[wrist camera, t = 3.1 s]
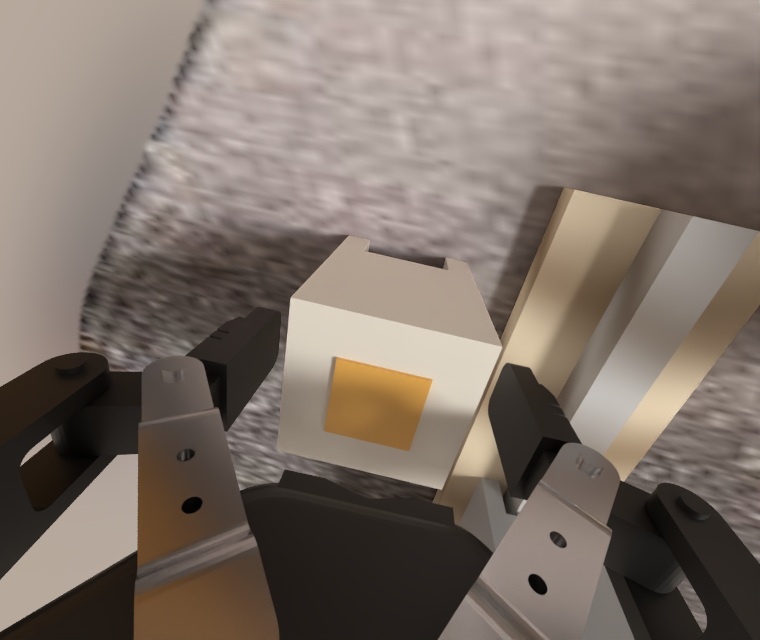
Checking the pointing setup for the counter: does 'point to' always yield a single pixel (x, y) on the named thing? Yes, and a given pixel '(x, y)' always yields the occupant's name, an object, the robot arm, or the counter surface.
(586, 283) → the rail board
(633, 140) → the counter surface
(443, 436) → the block
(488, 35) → the counter surface
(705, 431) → the counter surface
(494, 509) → the grey module
